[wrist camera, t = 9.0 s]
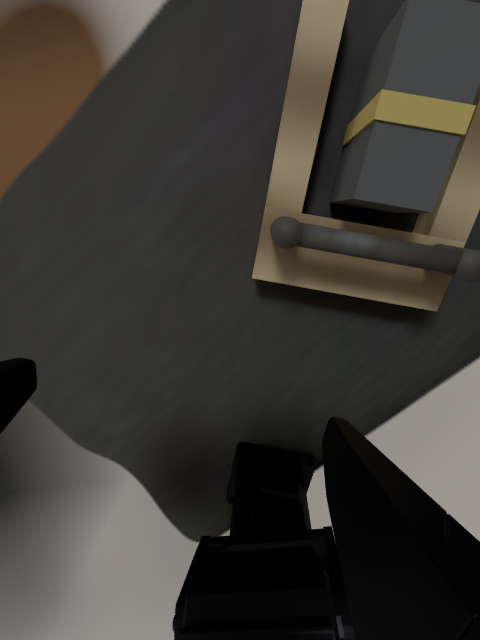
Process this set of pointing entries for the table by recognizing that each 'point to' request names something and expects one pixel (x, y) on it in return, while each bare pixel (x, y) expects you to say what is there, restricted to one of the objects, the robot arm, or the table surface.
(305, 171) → the wooden u-shaped holder
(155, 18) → the table surface
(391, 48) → the banded grey block
